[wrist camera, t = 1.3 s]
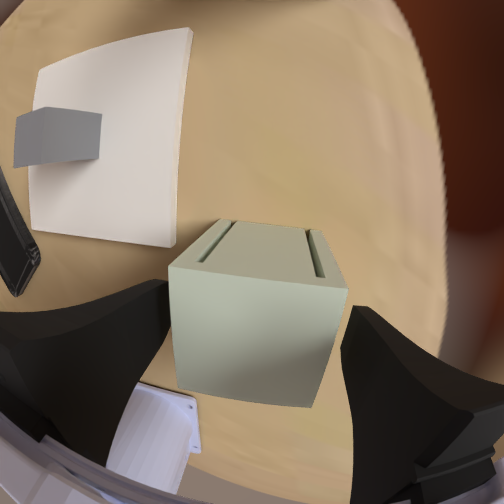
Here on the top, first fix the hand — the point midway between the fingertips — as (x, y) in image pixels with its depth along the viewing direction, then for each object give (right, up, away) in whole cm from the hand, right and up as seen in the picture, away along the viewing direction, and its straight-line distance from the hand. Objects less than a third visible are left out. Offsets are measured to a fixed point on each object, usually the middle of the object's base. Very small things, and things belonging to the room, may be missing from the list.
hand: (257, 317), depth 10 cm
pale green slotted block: (+1, +1, +4) cm, 5 cm away
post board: (-10, +9, +3) cm, 14 cm away
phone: (-24, +6, +6) cm, 25 cm away
